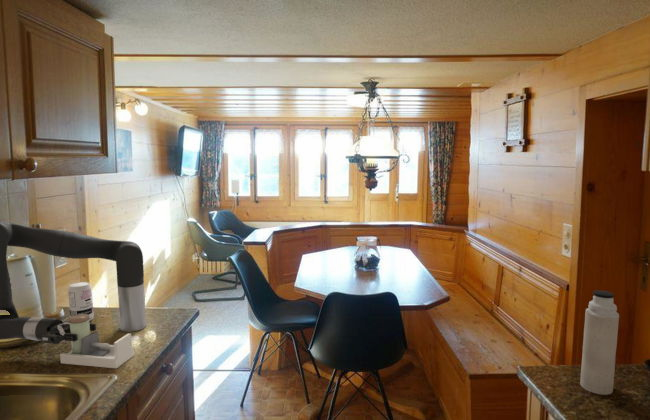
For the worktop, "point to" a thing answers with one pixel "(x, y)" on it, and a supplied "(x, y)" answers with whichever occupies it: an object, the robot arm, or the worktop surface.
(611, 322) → the thermos bottle
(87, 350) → the pusher
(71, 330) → the jar
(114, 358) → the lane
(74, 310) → the supplement can
